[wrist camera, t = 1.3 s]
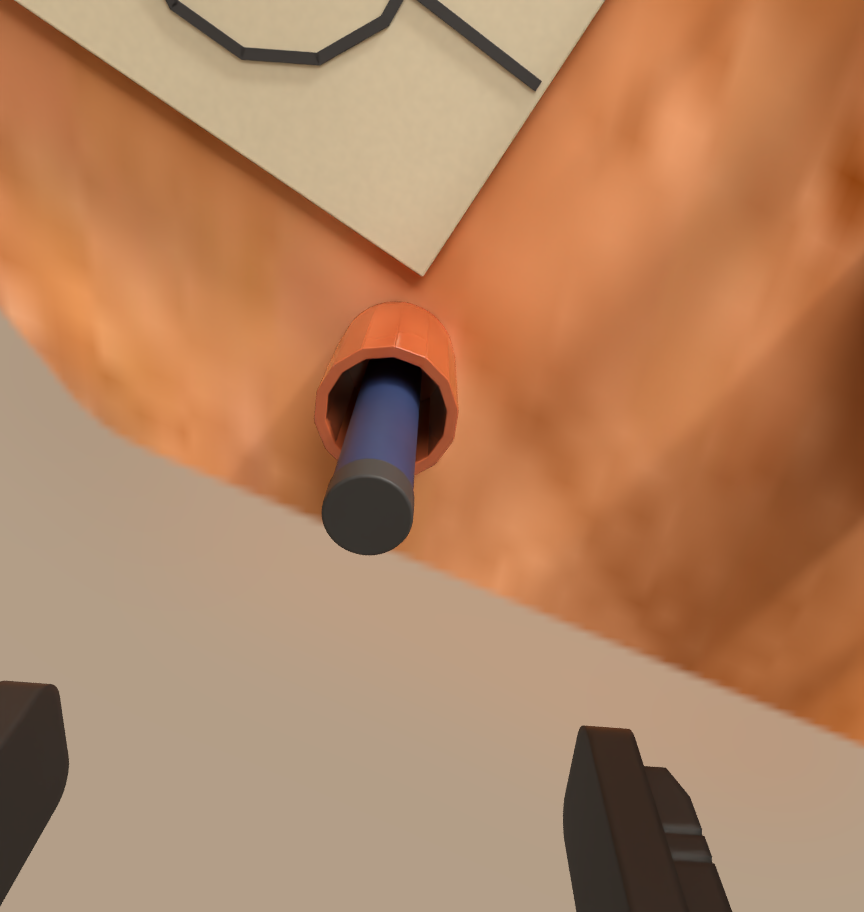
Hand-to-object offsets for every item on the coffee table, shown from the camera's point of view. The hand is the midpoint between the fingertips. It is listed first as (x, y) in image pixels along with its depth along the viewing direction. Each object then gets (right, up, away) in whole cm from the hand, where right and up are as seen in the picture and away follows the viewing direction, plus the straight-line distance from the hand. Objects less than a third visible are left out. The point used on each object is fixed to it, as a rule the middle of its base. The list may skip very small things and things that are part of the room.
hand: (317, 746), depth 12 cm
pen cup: (0, +9, +20) cm, 22 cm away
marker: (0, +8, +20) cm, 21 cm away
